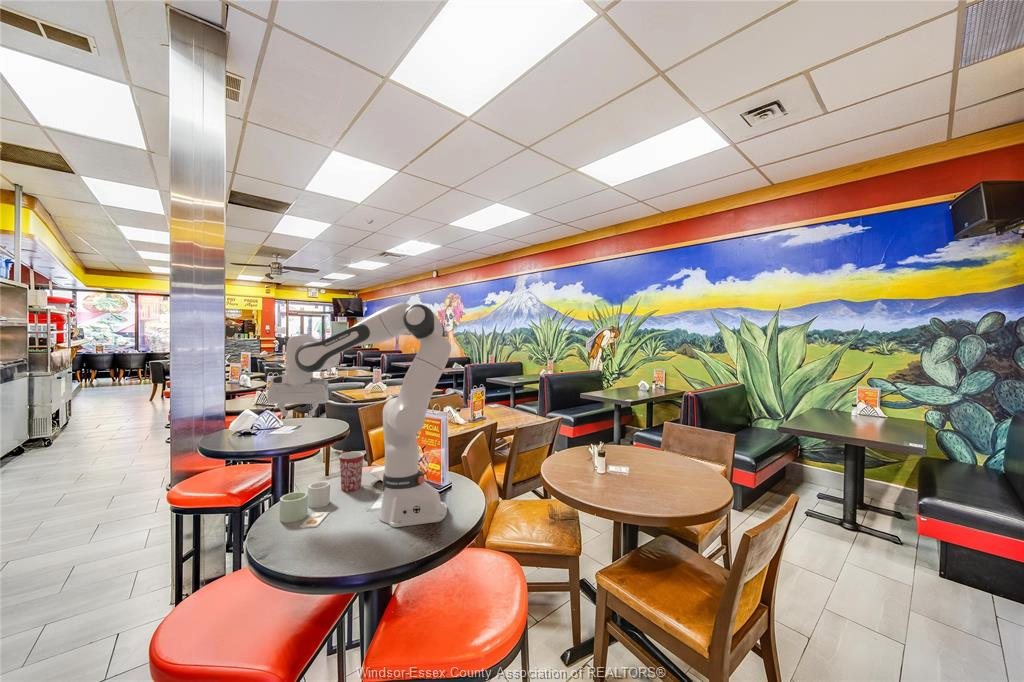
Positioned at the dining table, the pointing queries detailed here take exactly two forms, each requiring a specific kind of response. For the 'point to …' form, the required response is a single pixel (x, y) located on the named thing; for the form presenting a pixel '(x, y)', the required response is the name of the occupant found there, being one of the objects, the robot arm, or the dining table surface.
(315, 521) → the card
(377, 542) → the dining table surface
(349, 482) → the mug
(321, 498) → the tube grey
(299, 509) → the tube green
